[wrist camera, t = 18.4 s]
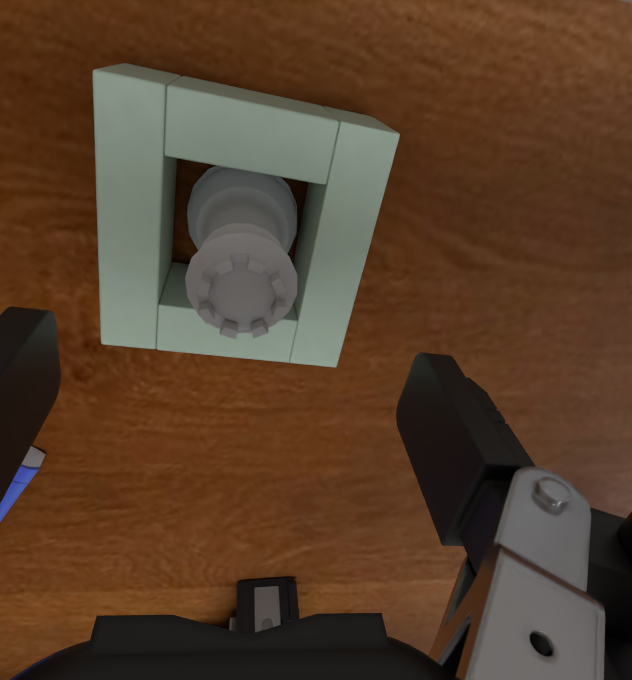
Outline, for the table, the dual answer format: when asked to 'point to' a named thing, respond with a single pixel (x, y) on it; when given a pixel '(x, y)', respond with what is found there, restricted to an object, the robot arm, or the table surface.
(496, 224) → the table surface
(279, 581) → the camera
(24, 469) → the hard drive
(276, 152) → the socket
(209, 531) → the table surface
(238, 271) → the rook chess piece
